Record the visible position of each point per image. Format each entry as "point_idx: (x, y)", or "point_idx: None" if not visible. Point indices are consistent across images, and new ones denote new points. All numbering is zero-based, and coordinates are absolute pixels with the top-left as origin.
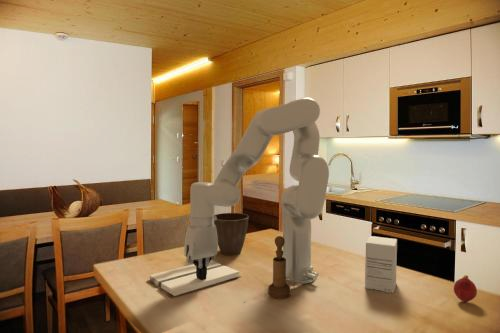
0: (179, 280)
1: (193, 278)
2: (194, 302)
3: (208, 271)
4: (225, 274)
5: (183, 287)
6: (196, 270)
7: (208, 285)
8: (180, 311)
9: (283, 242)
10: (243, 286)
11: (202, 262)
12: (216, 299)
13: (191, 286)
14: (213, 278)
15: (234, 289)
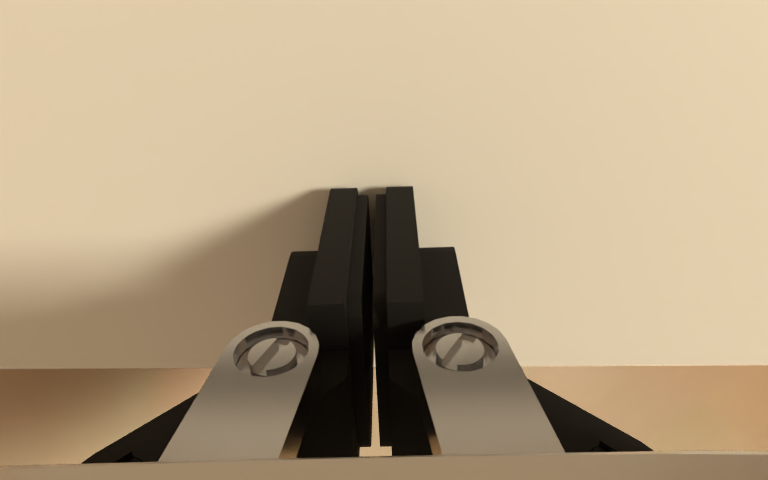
0: (42, 96)
1: (277, 169)
2: (172, 399)
3: (679, 33)
4: (735, 334)
5: (40, 356)
6: (278, 308)
7: None
8: (19, 449)
9: None
10: (747, 400)
11: (422, 409)
12: (364, 452)
13: (153, 361)
14: None
15: (628, 401)
